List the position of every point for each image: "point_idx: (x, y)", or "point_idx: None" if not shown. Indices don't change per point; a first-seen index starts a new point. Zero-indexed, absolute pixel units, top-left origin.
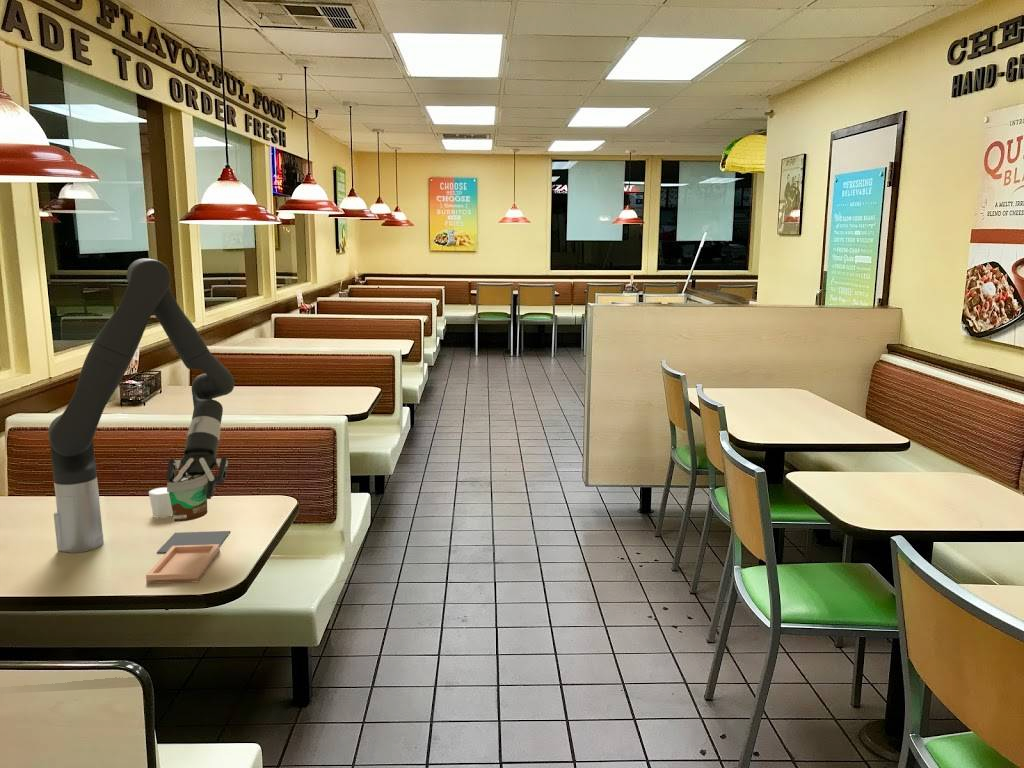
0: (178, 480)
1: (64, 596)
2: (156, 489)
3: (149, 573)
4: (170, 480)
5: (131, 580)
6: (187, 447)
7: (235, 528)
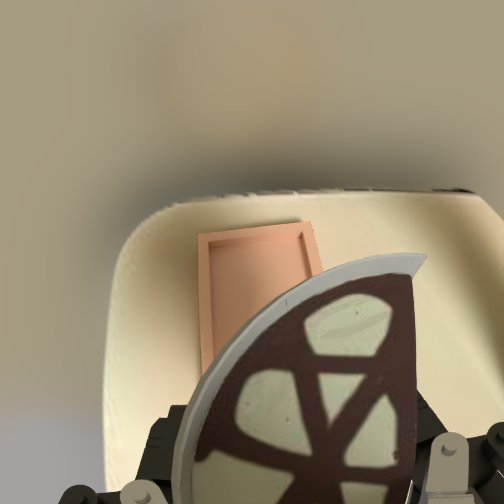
0: (412, 397)
1: (413, 190)
2: None
3: (307, 228)
4: (482, 440)
5: (350, 246)
6: None
7: None
